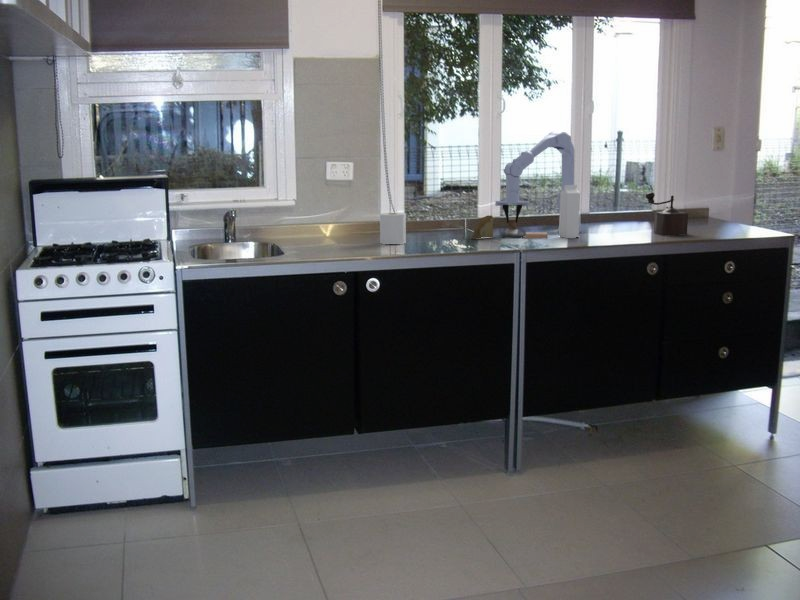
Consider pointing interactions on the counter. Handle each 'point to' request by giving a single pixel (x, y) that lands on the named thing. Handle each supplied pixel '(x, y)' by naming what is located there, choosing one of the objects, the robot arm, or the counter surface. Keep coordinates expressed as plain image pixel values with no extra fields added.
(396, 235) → the light grey block
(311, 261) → the counter surface
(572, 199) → the milk
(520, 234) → the pad
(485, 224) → the rock
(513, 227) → the two-tone stacked blocks
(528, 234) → the tile
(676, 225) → the manual coffee grinder
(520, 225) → the counter surface
